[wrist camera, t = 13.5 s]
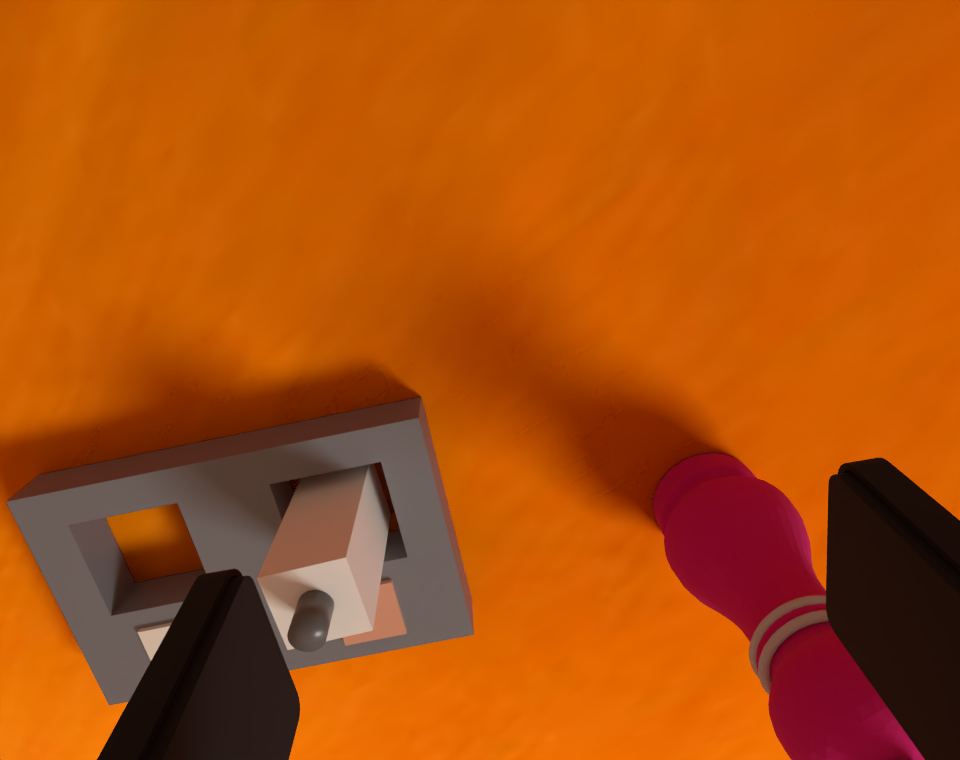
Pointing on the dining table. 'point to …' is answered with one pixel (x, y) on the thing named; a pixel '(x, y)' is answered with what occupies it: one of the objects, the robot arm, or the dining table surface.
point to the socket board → (243, 535)
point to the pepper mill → (773, 608)
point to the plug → (328, 558)
